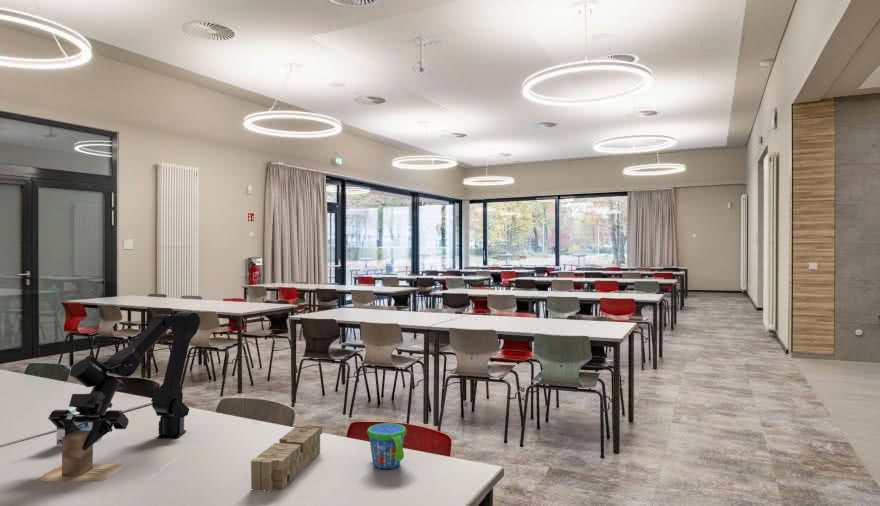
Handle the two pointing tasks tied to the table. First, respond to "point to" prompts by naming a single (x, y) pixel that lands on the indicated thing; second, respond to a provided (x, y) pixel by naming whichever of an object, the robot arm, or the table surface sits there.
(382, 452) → the snack cup
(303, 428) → the block tower
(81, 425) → the light bulb box
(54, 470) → the board
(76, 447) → the block
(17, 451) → the table surface
